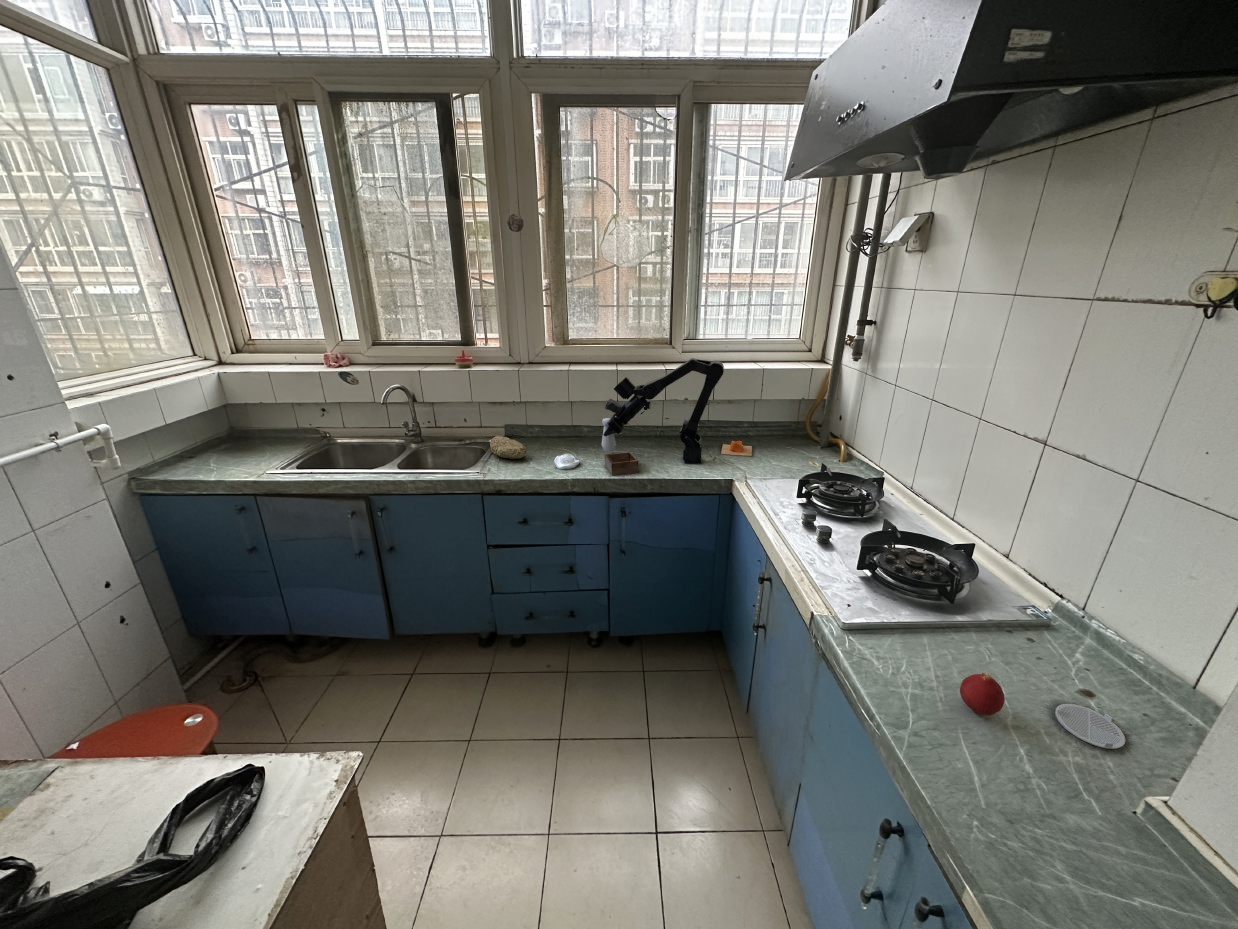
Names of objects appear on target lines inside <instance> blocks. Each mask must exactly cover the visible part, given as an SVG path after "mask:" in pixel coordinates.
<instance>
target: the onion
mask: <svg viewBox="0 0 1238 929" xmlns="http://www.w3.org/2000/svg"><path fill="white" fill-rule="evenodd" d="M959 694H960V697H961V700H962V702H964V704H965V705H966V706H967V707H968V708H969V709H970V710H971V711H972V712H973V713H974V714H978V715H982V716H992V715H996V714H997V713H999V712H1001V710H1002V709H1003V708H1004V705H1005V701H1006V697H1005V693H1004V691H1003V689H1002V686H1001V685H1000V684H999V682H997V681H996V679H994V678H993V677H992V676H991V675H990V673H987V672H981V673H975V674H970V675H968V676H967V677H965V678H964V679H962V680H961V683H960V686H959Z"/></svg>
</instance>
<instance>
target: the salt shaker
mask: <svg viewBox="0 0 1238 929" xmlns="http://www.w3.org/2000/svg"><path fill="white" fill-rule="evenodd" d="M611 418H612V417H604V418H603V419H602V425H603V429H602V430H603V431H602V432H603V433H602V436H601V437H602V438H601V447H602V449H603V451H604V452H607V453H610V452H614V450H615V449H616V447H617V441H616V437H615V433H614V434H611V435H608V436H604V435H603V434H604V433H605V431H606V430H607V428H608V427H609V425H608V424H607V422H608V421H609V420H610V419H611Z"/></svg>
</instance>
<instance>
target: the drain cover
mask: <svg viewBox="0 0 1238 929" xmlns="http://www.w3.org/2000/svg"><path fill="white" fill-rule="evenodd" d="M1054 714H1055V718H1056V720H1057V722H1058V723H1059V724H1060V725H1061V726H1062V727H1063V728H1064V729H1065V730H1066V731H1068V732H1069V733H1070V734H1072V735H1073V736H1074V737H1076V738H1078V739H1079V740H1081V741H1084V742H1086V743H1088V744H1090V745H1092V746H1095V747H1098V748H1102V749H1108V750H1116V749H1121V748H1122V747H1124V745H1125V743H1126V737H1125V734H1124V733H1123V731H1122V730H1121V729H1120V728H1119V726H1118V725H1117V724H1116V723H1114V722H1113V716H1111V715H1109V714H1108V713H1105V714H1104V715H1103V714H1101V713H1099V712H1098V711H1095V710H1094V709H1091V708H1088V707H1086V706H1083V705H1079V704H1074V703H1062V704H1059V705H1058V706H1056V707H1055V712H1054Z"/></svg>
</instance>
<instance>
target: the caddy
mask: <svg viewBox="0 0 1238 929" xmlns="http://www.w3.org/2000/svg"><path fill="white" fill-rule="evenodd" d="M639 464H640V460H639V459H638V458H637V456H635V455H634V454H633V452H632V451H624V452H614V453H604V467H605V468H606V470H607V471H608V473H609V474H610V475H611V476H617V475H618V476H620V475H628V474H636V473H639V468H640V467H639V466H640V465H639Z"/></svg>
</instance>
